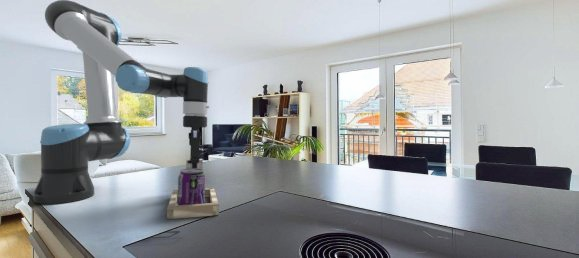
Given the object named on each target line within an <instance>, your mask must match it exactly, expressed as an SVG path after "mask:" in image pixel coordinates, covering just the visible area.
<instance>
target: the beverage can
mask: <svg viewBox="0 0 579 258" xmlns="http://www.w3.org/2000/svg"><path fill="white" fill-rule="evenodd" d="M179 171H180V173H179V174H178V180H177V183H178V184H177V190H178V199H177V205H190V204H205V200H206V199H205V198H206V197H205V189H206V175H205V173H204V169H203V168H202V169H199V168H188V169H186V168H183V169H180V170H179Z"/></svg>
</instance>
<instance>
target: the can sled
mask: <svg viewBox="0 0 579 258" xmlns="http://www.w3.org/2000/svg"><path fill="white" fill-rule="evenodd" d="M188 160H190V158H189V159H188V158H187V159H186V164H185V165H186V167H185V169H188V168H190V163H188ZM203 161H204V159H203V158H199V169H203V164H204V163H203ZM205 198H209V200H210V203H209V202H208V203H207V202H206V203H205V204H190V205H178V189H173V190H172V193H171V196H170V199H169V203H168V205H167V207H166V220H175V219H176V220H177V219H186V218H188V219H189V218H199V217H201V218H202V217H211V216H219V215H220V203H219V201H218V197H217V193H216V190H215V187H209V188H207V187H205Z"/></svg>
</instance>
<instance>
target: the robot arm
mask: <svg viewBox="0 0 579 258" xmlns="http://www.w3.org/2000/svg"><path fill="white" fill-rule="evenodd" d="M44 19H45V22H46V24H47V26H48V27H49V29H51V31H53V32H54V34H56V35H58V36H59V37H60V38H61V39H63V40H65V41H70V42H71V43H72V44H74V45H75V46H76V48H77V49H78V50H79V51H80V52H82V59H83V70H84V71H83V73H84V82H85V83H84V84H85V94H86V95H85V96H86V108H87V109H86V110H87V119H86V120H85V121H84V122H83V123H69V124H67V123H66V124H57V125H51V126H46V127H45V128H43V129H42V130H41V136H40V137H41V138H40V141H39V142H40V159H41V160H40V164H41V165H40V171H41V172H40V178H39V180H38V183H37V185H36V187H35V190H34V192H33V195H32V196H33V197H32V198H33V200H32V201H33V202H34V203H36V204H39V205H40V204H42V205H51V204H52V205H53V204H54V205H55V204H56V205H57V204H63V203H64V204H65V203H71V202H72V203H73V202H77V201H81V200H85V199H89V198H91V197H92V196H94V195H95V186H94V183H93V181H92V179H91V178H92V177H91V176H90V173H89V162H94V161H101V160H111V159H114V158H119V157H122V156H123V155H124V154H125V153H126V151H128V149H129V147H130V143H131V135H130V132H128V130H127V129H126V128H124V127H123V125H122V121H121V120H120V119H119V118H118V117H117V112H116V111H117V110H116V108H117V107H116V98H115V97H116V96H115V86H114V77H115V82H116V84H117V86H118V88H119V89H121V90H122V91H125V92H128V93H129V92H130V93H131V94H142V95H149V96H150V95H151V96H155V97H157V98H164V99H165V98H166V99H167V98H183V100H182V101H183V102H182V114H184V116H183V117H182V127H184V128H191V130H190V132H188V139H189V140H188V142H189V144H188V145H189V146H190V158H189V159H190V160H188V163H190V168H199V159H200V157H201V153H200V146H201V144H202V143H201V139H202V132H200V128H202V129H203V128H207V127H208V117H207V116H206V115H208V109H210V106H209V105H208V85H209V81H208V79H209V78H208V77H209V74H208V70H207V69H205V68H202V67H198V66H187V67H184V69H183V72H182V73H183V74H170V73H165V72H160V71H156V70H154V69H150V68H146V67H145V66H144V65H143V64H141V63H140V62H138V61H137V59H135V58H133V57H132V55H129V54H128V53H127V52H125V51H124V50H123V49H122V48H120V47H119V45H120V44H121V43H120V42H121V41H122V38H123V37H122V29H121V26H120V25H119V23H118V22H117V21H116V20H115V19H114V18H112V17H111V16H108V15H107V14H105V13H103V12H99V11H97V10H94V9H92V8H89V7H87V6H85V5H82V4H80V3H78V2H75V1H71V0H55V1H53V2H51V3H49V5H47V7H46V8H45V11H44Z"/></svg>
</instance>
